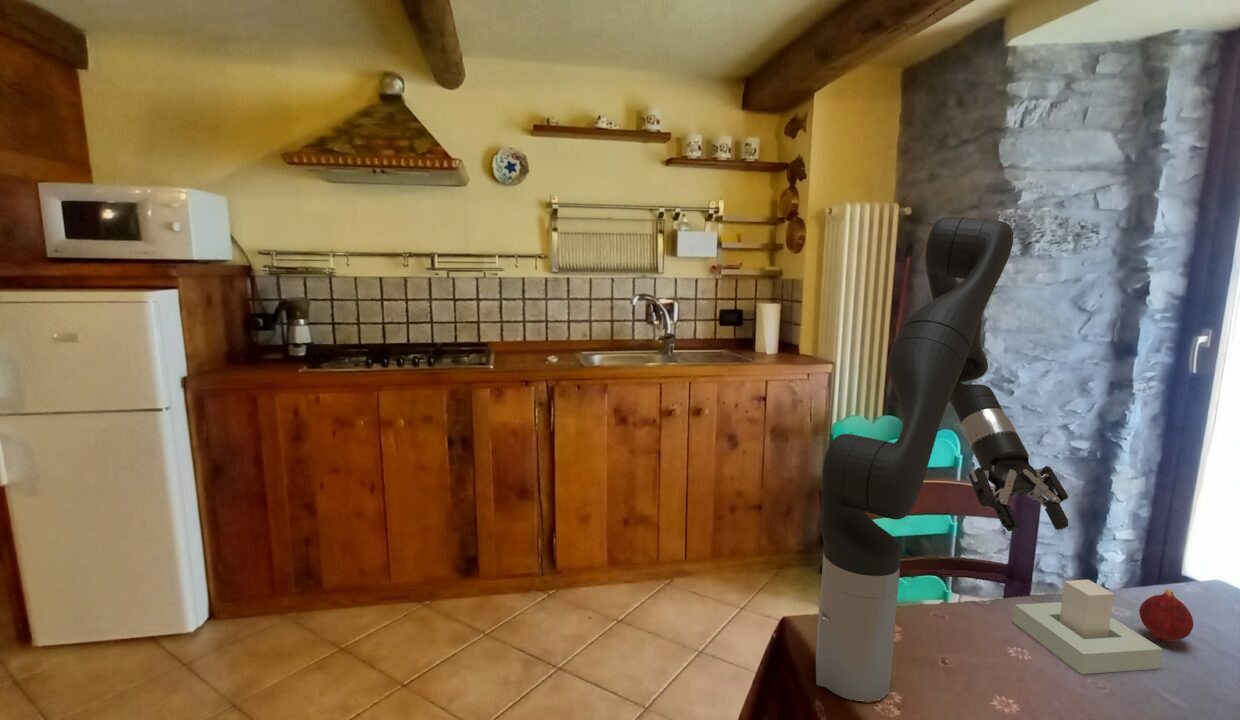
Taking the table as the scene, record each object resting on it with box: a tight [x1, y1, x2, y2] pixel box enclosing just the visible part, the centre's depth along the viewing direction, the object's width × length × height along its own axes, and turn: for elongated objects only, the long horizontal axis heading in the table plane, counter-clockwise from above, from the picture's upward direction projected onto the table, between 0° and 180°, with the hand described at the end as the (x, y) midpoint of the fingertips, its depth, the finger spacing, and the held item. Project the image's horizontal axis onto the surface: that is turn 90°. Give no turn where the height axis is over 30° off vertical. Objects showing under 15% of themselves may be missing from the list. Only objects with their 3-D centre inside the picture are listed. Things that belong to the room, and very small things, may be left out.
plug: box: [1059, 579, 1115, 639], centre depth 85 cm, size 4×4×9 cm
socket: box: [1012, 601, 1164, 675], centre depth 85 cm, size 12×12×3 cm
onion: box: [1138, 588, 1194, 642], centre depth 86 cm, size 6×6×8 cm
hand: (1038, 528), depth 93 cm, fingers open, 8 cm apart
